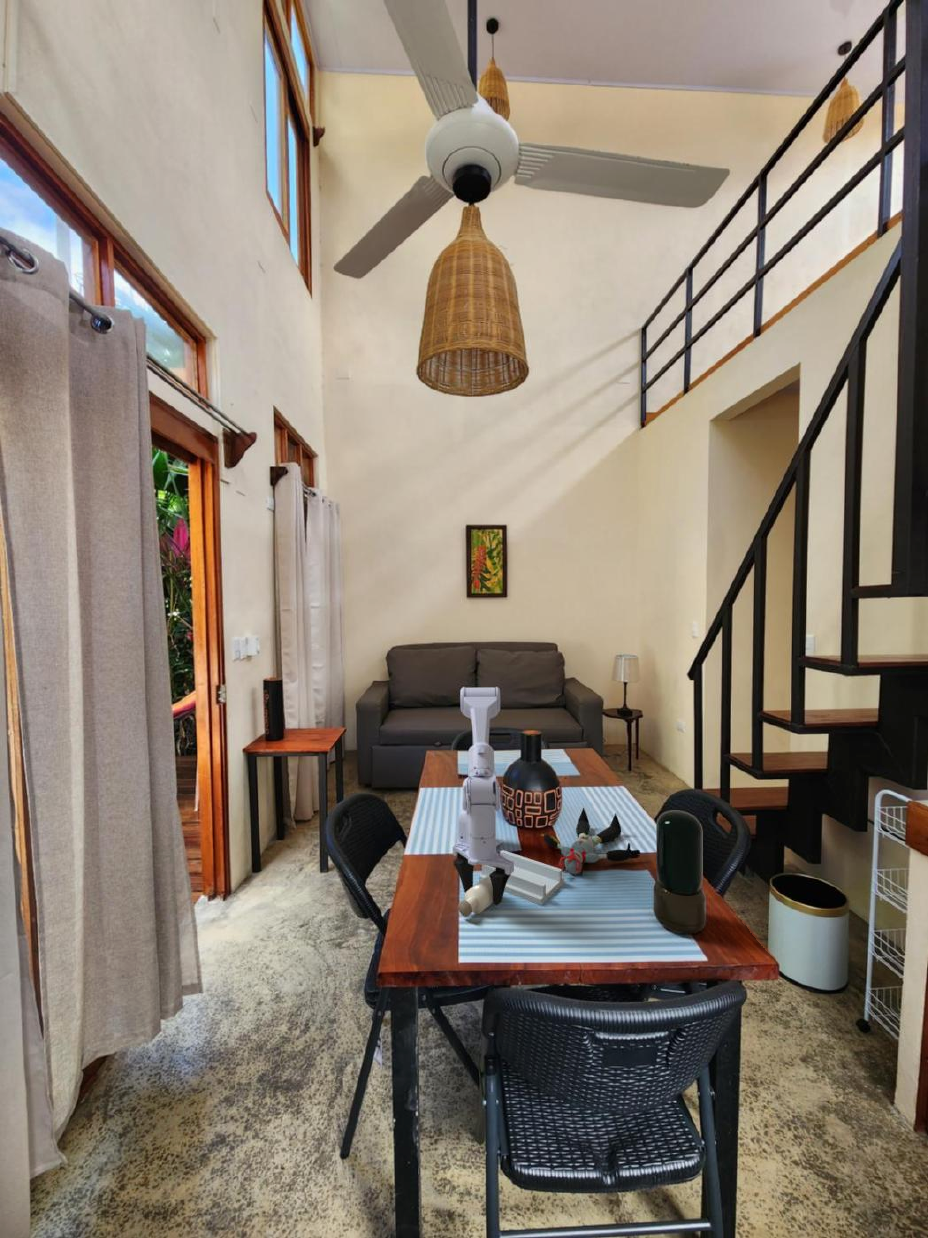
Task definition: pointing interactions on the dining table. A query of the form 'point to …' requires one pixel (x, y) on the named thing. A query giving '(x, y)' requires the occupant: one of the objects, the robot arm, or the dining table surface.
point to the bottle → (477, 898)
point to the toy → (590, 846)
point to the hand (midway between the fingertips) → (482, 897)
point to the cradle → (529, 878)
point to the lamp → (679, 873)
